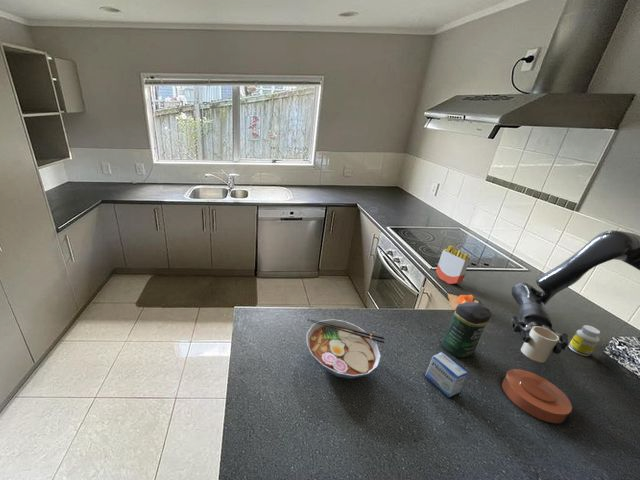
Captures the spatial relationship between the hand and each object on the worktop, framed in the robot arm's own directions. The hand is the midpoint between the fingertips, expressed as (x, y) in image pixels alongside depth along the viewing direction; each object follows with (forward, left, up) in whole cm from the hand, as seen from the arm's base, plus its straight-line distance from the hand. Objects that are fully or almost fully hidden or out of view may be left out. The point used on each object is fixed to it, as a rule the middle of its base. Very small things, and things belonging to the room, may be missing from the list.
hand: (541, 346), depth 87 cm
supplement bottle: (-16, -24, -11) cm, 31 cm away
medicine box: (+22, +24, -11) cm, 34 cm away
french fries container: (+26, -46, -11) cm, 54 cm away
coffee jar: (+19, +4, -11) cm, 22 cm away
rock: (+18, -28, -11) cm, 35 cm away
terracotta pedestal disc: (0, +12, -11) cm, 16 cm away
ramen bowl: (+50, +36, -11) cm, 62 cm away
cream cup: (0, -2, -6) cm, 6 cm away
